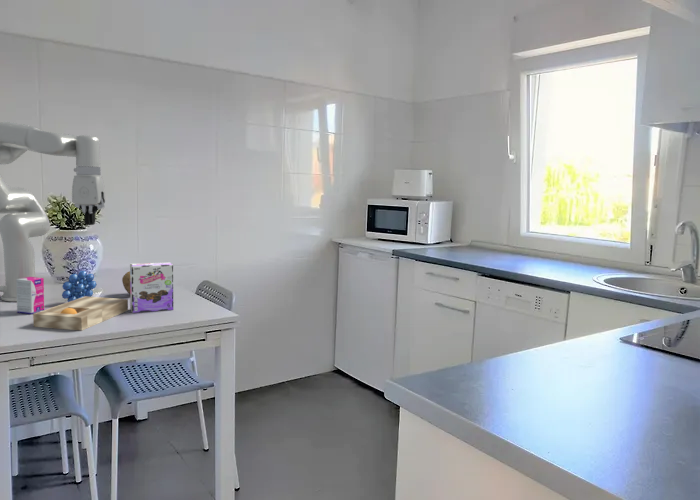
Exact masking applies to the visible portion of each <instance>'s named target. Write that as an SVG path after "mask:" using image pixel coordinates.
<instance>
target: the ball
mask: <svg viewBox="0 0 700 500" xmlns="http://www.w3.org/2000/svg"><path fill="white" fill-rule="evenodd" d="M61 313H63V314H77V312H76V310H75V309H73V308H66V309H64V310H62V311H61Z"/></svg>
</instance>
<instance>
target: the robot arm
mask: <svg viewBox="0 0 700 500" xmlns="http://www.w3.org/2000/svg"><path fill="white" fill-rule="evenodd" d="M100 141H101V140H100V139H99V137H98V136H96V135H95V136H94V135H87V134H84V135H82V134H81V135H74V134H66V133H58V132H51V131H50V132H49V131H44V130H41V129H40V128H38V127H36V126H31V125H28V124H23V123H17V122H10V121H9V122H8V121H2V122H1V121H0V165H9V164H12V163H14V162H15V161H17V160H18V159H19V158H20V157H22V155H24V154H25V153H26V152H27V151H30V152H34V153H38V154H45V155H49V156H56V157H67V158H69V157H72V158H75V165H76V167H74V168H73V172H74V173H75V174H76V175H73V179H72V186H71V201H72V203H73V204H74V207H76V208H78V209H80V210H81V212H82V213H83V215H84V225H85V226H93V225H95V223H96V214H97V213H98V211H99V210H102V209H104V208H105V203H106V190H105V184H104V179H103V176H101V143H100ZM0 214H5V215H3V216H2V217H1V218H0V238H1V241H2V247H3V248H2V250H3V263H4V265H3V266H4V278H5V279H4V281H5V282H4V284H5V285H0V292H3V294H2V295H1V296H0V299H1V301H4V302H17V281H16V280H17V279H21V278H26V277H36V260H35V259H36V258H35V257H36V256H35V248H34V246H33V244H32V242H31V241H30V239H29V238H36V237H37V238H38V237H42V236H45V235H46V234H47V233H49V231H50V228H51V224H50V223H51V222H50V219H49V216H48V215H47V214H46V212H45V210H44V208H43V207H42V206H41V204H40V202H39V201H38V199H37V197H36V196H35V195H34V194H33V192H31V190H29V189H27V188H24V187H11V186H10V185H8V183H7V182H6V181H5V179H4V177H3V176H2V174H0Z"/></svg>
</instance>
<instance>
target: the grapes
mask: <svg viewBox="0 0 700 500" xmlns="http://www.w3.org/2000/svg"><path fill="white" fill-rule="evenodd" d="M94 279H95V276H94V274H93V273H87V271H85V270H80V271H79V272H78V274H77V273H72V274H70V275H69V277H68V280H67V281H64V282H63V283H62V286H61V287H62V289H63V292H62V293H61V297H62V298H63V299H66V300H67V302H70V301H73V300H76V299H79V298H82V297H85V296H88V297H93V295H94V290H95V288H97V282H96V281H95V280H94Z"/></svg>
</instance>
